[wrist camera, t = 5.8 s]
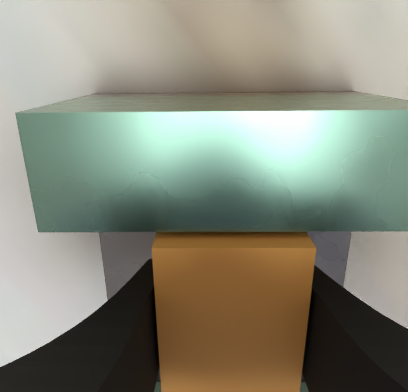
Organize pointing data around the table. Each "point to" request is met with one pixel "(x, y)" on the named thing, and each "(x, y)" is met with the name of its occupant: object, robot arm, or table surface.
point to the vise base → (217, 169)
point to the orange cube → (232, 309)
